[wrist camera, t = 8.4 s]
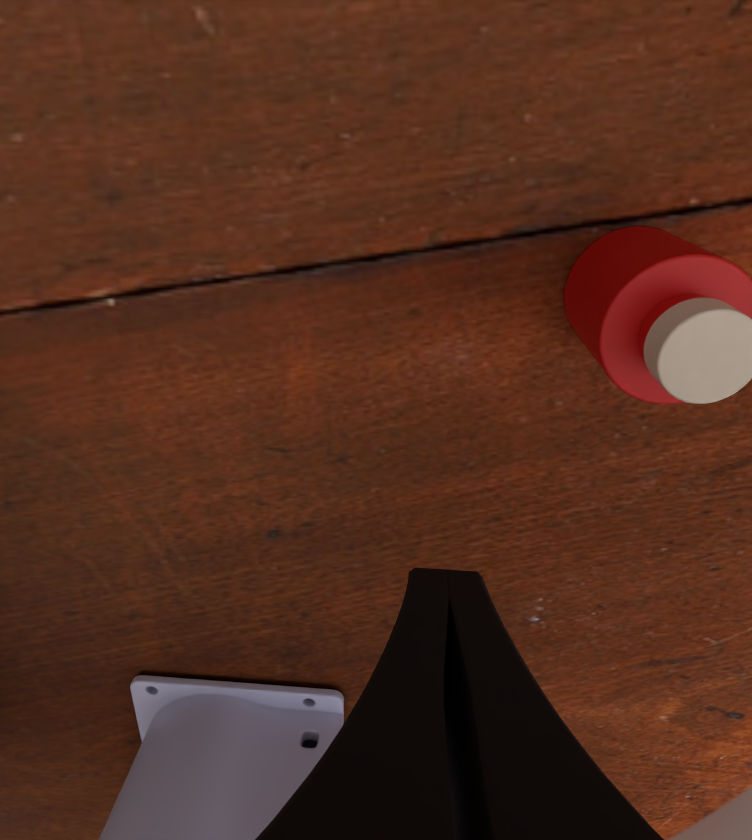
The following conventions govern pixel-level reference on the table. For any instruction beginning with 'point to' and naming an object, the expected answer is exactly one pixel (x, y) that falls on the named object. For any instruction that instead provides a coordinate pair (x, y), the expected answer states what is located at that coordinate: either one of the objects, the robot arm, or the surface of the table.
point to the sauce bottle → (663, 316)
